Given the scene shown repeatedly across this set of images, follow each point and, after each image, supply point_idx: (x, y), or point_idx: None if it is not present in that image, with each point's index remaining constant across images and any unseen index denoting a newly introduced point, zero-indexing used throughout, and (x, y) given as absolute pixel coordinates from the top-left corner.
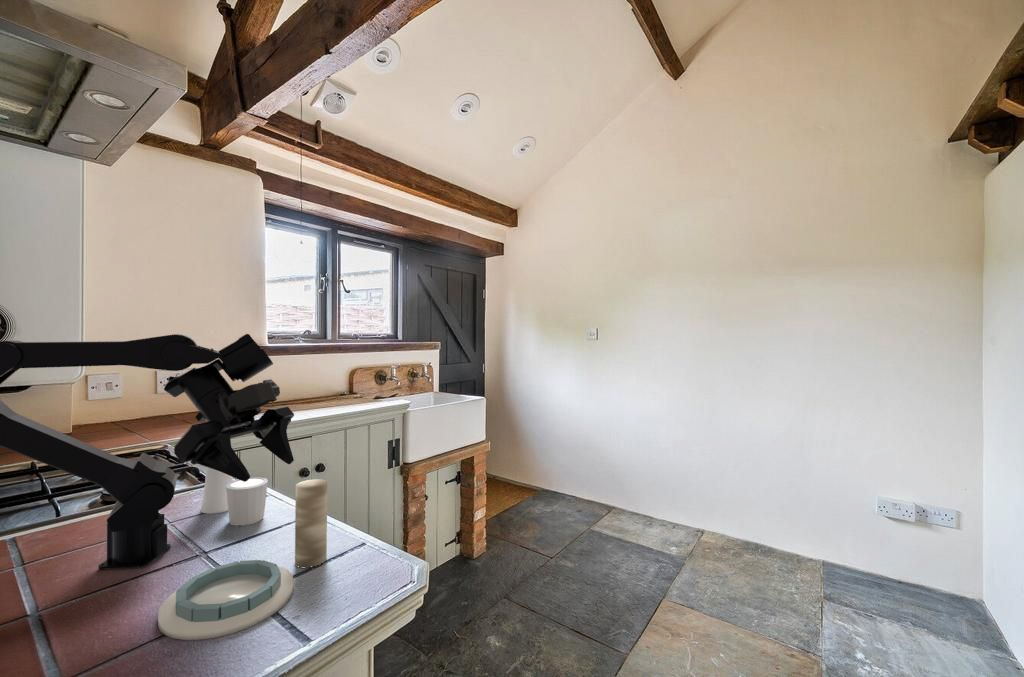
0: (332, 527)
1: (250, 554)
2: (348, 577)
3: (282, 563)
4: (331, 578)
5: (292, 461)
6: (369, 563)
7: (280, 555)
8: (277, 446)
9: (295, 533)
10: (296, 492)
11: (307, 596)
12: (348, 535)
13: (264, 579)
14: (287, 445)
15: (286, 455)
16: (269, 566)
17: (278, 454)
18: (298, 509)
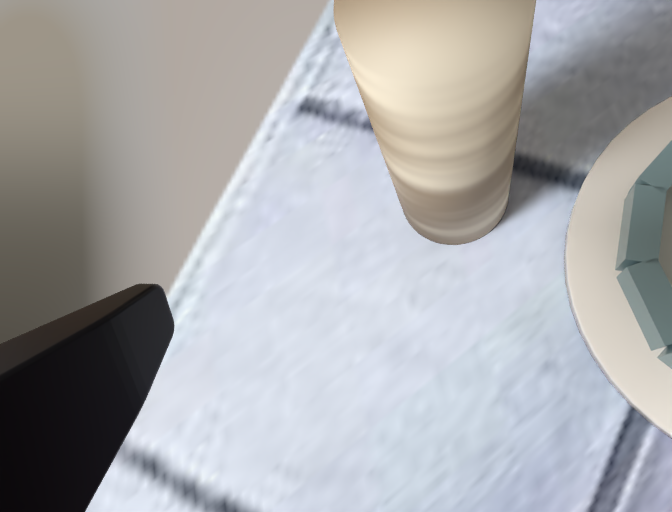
0: (203, 284)
1: (470, 456)
2: None
3: (498, 277)
4: (538, 62)
5: (159, 289)
6: None
7: (447, 327)
8: (8, 495)
9: (501, 177)
10: (517, 53)
11: (656, 60)
12: (256, 189)
13: (670, 214)
14: (6, 354)
15: (122, 342)
16: (659, 197)
17: (91, 460)
18: (522, 89)
